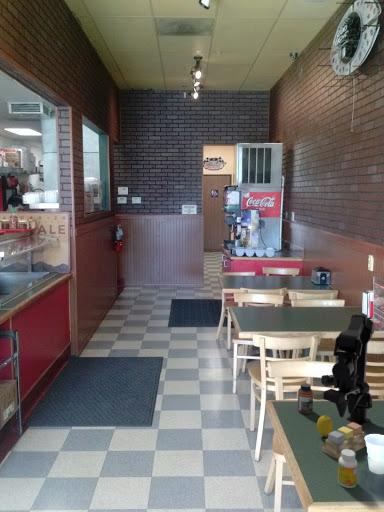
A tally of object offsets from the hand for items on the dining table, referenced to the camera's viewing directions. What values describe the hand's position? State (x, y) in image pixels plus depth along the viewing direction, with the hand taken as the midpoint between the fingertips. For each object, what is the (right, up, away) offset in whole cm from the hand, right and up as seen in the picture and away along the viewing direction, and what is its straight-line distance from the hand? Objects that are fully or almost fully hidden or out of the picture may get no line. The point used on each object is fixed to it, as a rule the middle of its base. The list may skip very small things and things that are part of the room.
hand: (345, 415), depth 160 cm
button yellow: (0, -9, +1) cm, 9 cm away
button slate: (-4, -10, -2) cm, 11 cm away
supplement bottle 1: (-6, -9, +31) cm, 33 cm away
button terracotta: (+4, -9, +4) cm, 11 cm away
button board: (0, -12, +1) cm, 12 cm away
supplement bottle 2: (-6, -14, -19) cm, 24 cm away
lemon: (-5, -11, +10) cm, 15 cm away
